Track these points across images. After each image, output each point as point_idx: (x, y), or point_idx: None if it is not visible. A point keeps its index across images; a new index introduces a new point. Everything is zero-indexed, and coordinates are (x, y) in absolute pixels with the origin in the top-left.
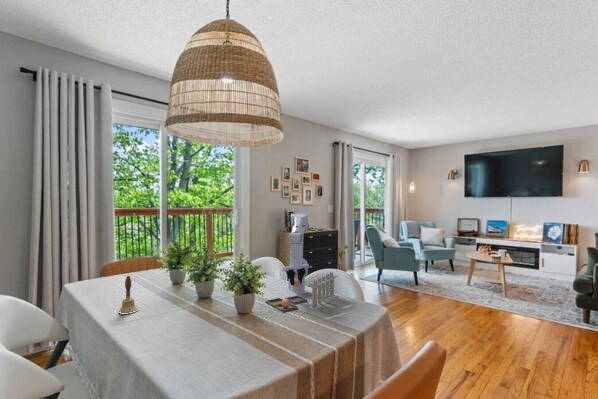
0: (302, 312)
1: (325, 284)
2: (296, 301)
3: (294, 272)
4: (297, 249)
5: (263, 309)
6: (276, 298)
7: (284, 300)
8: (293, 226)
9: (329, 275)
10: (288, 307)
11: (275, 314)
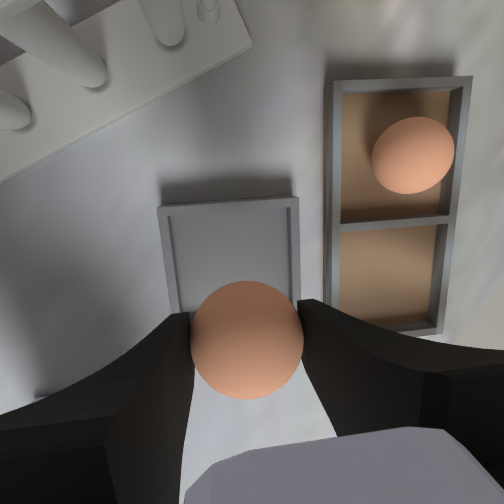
0: (326, 8)
1: None
2: (270, 203)
3: (476, 371)
4: None
5: (497, 234)
6: None
7: (450, 145)
8: None
9: None
10: (367, 155)
11: (500, 100)
